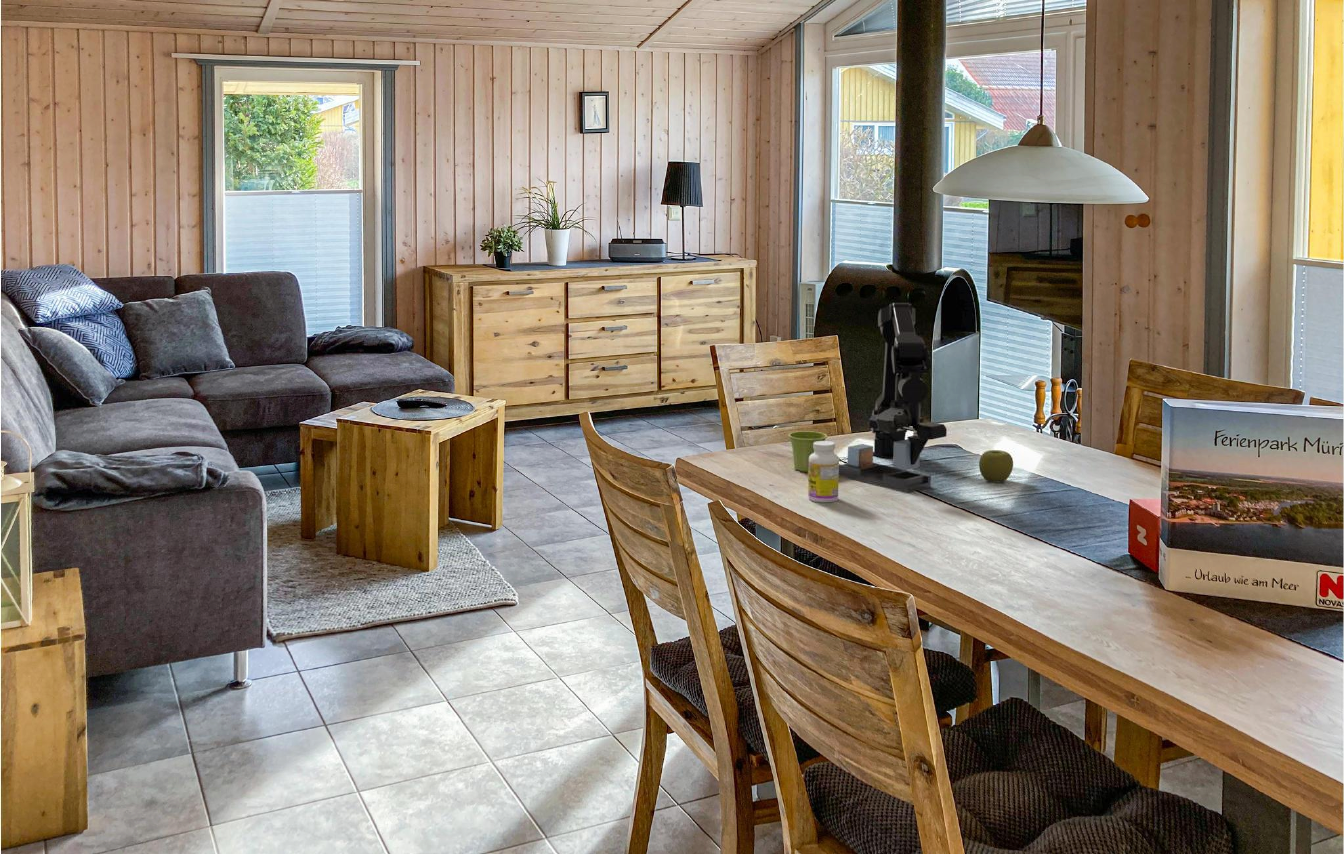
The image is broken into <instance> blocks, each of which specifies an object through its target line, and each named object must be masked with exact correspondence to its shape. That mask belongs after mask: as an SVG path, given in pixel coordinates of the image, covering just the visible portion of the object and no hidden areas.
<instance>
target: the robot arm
mask: <svg viewBox="0 0 1344 854" xmlns="http://www.w3.org/2000/svg"><path fill="white" fill-rule="evenodd" d="M915 324H916V308H914V307H913V306H912V303H909V302H892V303H890V304H889V305H888V306H884V307H881V308H880V310H879V312H878V315H877V325H878V327H879V328H880V333H881V336H882V338H883V341H885V348H884V349H885V350H884V361H883V362H884V363H883V364H884V365H883V377H882V378H883V380H882V381H883V383H882V393H880V395H879V396H878V398H877V399H876V400H875V406H874V409H872V413H871V416H870V418H869V419H868V428H870V431H871V432H872V434H874V437H875V438H874V442H873V443H874V445H873V456H876V457H881V458H886V459H892V458H893V454H894V442H896V441H901V440H906V439H908V440H909V441H910V444H911V445H910V461H911V465H914V464H915V463H916V461H917V459H918V457H919V455H921V454H922V451H923V449H924V448H925V446H926V444H927V443H928V442H929V440H936V439H940V438H946V437H947V427H946V425H945V424H944V423H937V422H933V421H932V422H927V423H924V420H925V419H924V417H921V406H924V405H925V400H926V398H927V396H928V392H929V389H928V386H927V383H926V382H925V381H924V380H923V374H929V372H930V371H929V370H931V367H932V366H931V365H932V363H931V355H930V351H929V350H928V346H927V345H925V343H924V340H923V337H921V336H920V335H918V334H916V330H915ZM908 431H909V432H913V433H912V435H910V436H907V438H906V434H907V433H908Z"/></svg>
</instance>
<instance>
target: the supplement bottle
mask: <svg viewBox="0 0 1344 854" xmlns="http://www.w3.org/2000/svg"><path fill="white" fill-rule="evenodd" d="M835 446H836V443H835V442H834V441H828V440H825V441H817V442H814V443H813V448H814V453H813V454H811V455H810V457H809V472H808V479H807V481H808V482H807V484H808V485H807V497H808V499H809V500H810V501H812V502H815V503H821V504H822V503H823V504H824V503H834V502H835V501H838V499H839V480H840V479H839V478H840V476H839V464H840V458H839V456H838V455H837V454H836V453H835V452H834V451H835V449H836V447H835Z"/></svg>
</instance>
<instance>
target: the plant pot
mask: <svg viewBox="0 0 1344 854" xmlns="http://www.w3.org/2000/svg"><path fill="white" fill-rule="evenodd" d="M788 437H789V439H790V443H791V447H792V448H791V449H792V455H793V465H794V467H793V468H794V469H795V470H796V471H797V470H798V471H800V472H803V473H804V472H805V473H806V472H808V473H809V457H810V455H811V454H813V453H814V448H813V443H814V442H817V441H826V439H827V438H828V435H827V434H826V433H823V432H820V431H811V430H810V431H808V430H805V431H804V430H803V431H802V430H801V431H793V432H790V433H788Z"/></svg>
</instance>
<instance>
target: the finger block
mask: <svg viewBox="0 0 1344 854" xmlns="http://www.w3.org/2000/svg"><path fill="white" fill-rule="evenodd" d="M910 445H911V444H910V441H909V440H908V438H905V440H901V441H896V442H894V454H893V460H892V461H893V462H892V467H894V468H898V469H902V470H908V471H909V470H912V469H915V468H916V469H917V468H919V467H920V459H921V458H920V455H921V454H920V455H919V457H918V459H917V461H916V463H915V464H914V465H911V461H910Z"/></svg>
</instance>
